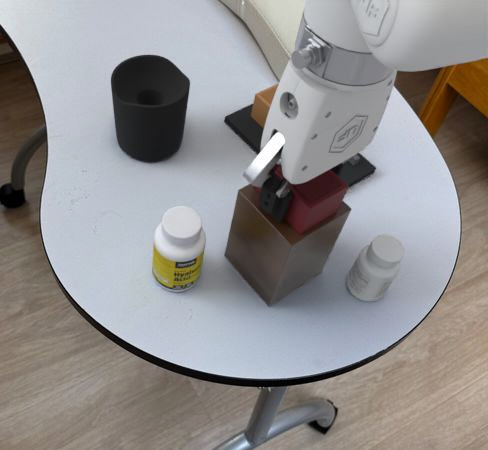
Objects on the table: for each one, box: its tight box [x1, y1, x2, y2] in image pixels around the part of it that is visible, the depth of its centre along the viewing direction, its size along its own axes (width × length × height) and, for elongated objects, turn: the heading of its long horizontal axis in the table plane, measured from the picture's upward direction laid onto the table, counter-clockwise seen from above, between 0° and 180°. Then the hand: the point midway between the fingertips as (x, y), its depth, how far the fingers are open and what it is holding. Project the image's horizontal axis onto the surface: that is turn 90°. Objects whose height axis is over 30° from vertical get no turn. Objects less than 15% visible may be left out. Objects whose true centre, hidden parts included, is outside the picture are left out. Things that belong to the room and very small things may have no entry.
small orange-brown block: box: [251, 82, 279, 128], centre depth 78 cm, size 7×5×4 cm
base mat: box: [224, 103, 377, 189], centre depth 78 cm, size 18×11×2 cm, turn 36°
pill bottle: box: [346, 234, 405, 302], centre depth 63 cm, size 4×4×8 cm
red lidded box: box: [253, 166, 350, 234], centre depth 56 cm, size 7×5×4 cm
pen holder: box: [110, 54, 191, 163], centre depth 74 cm, size 9×9×10 cm
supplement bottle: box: [151, 205, 207, 293], centre depth 62 cm, size 5×5×10 cm
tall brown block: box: [224, 183, 353, 308], centre depth 62 cm, size 8×8×12 cm
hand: (295, 195), depth 57 cm, fingers open, 5 cm apart
